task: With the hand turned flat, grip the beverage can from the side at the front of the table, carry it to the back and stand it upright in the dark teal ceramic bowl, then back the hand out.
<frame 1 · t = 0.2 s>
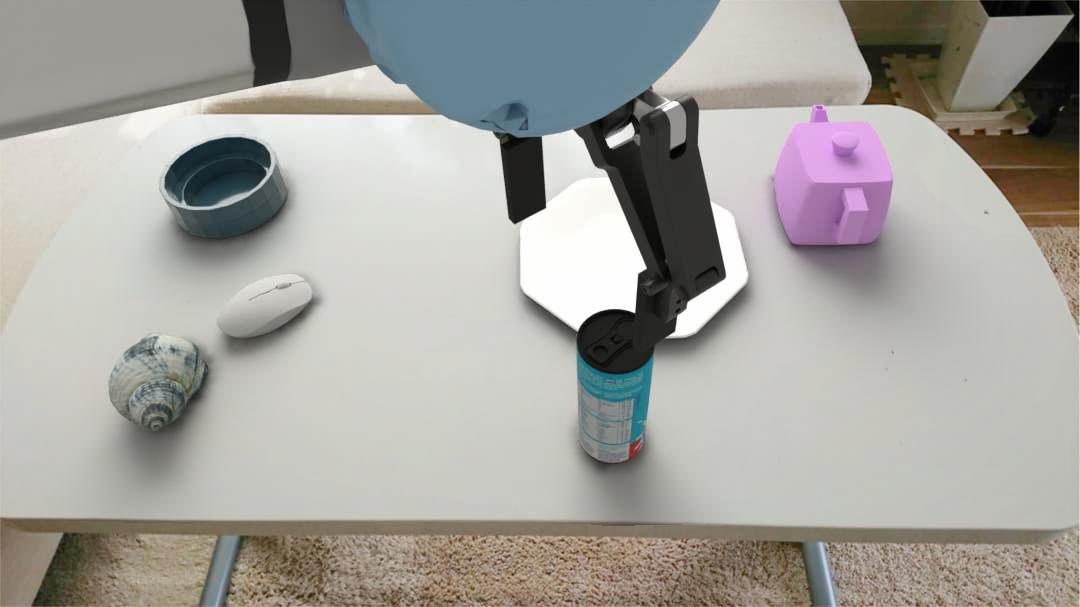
hand: (586, 271, 49), 24 cm above the table, tool pointing down, fingers open, 13 cm apart
computer mouse: (269, 313, 79), on the table
seashell: (169, 397, 73), on the table
plate: (629, 260, 81), on the table
teapot: (820, 209, 85), on the table
bowl: (233, 202, 90), on the table
beverage can: (611, 438, 68), on the table
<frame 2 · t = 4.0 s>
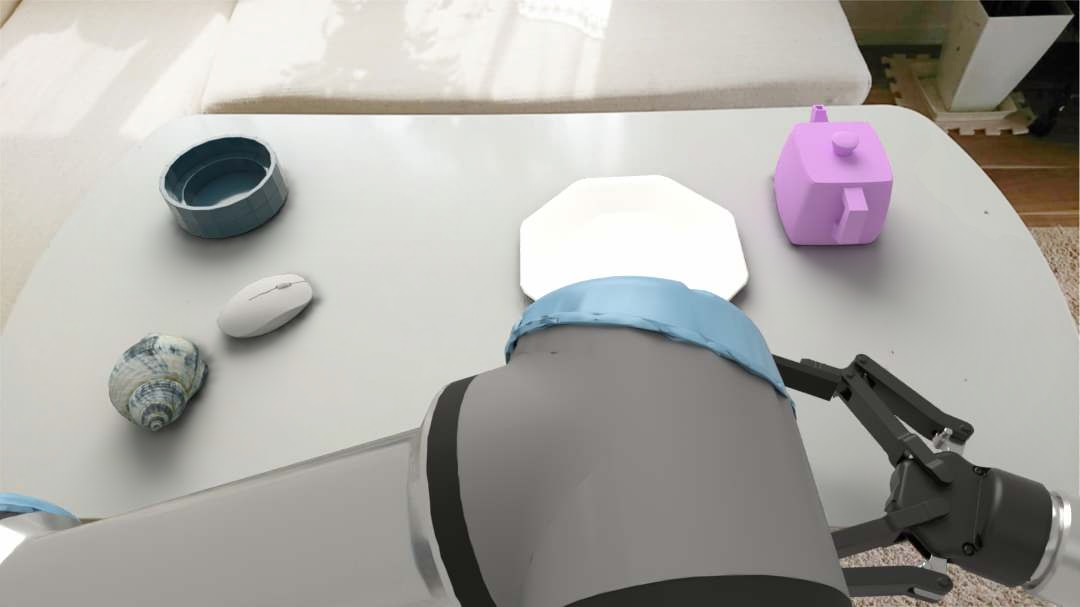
hand: (730, 428, 58), 8 cm above the table, tool horizontal, fingers open, 13 cm apart
nothing on the table moved.
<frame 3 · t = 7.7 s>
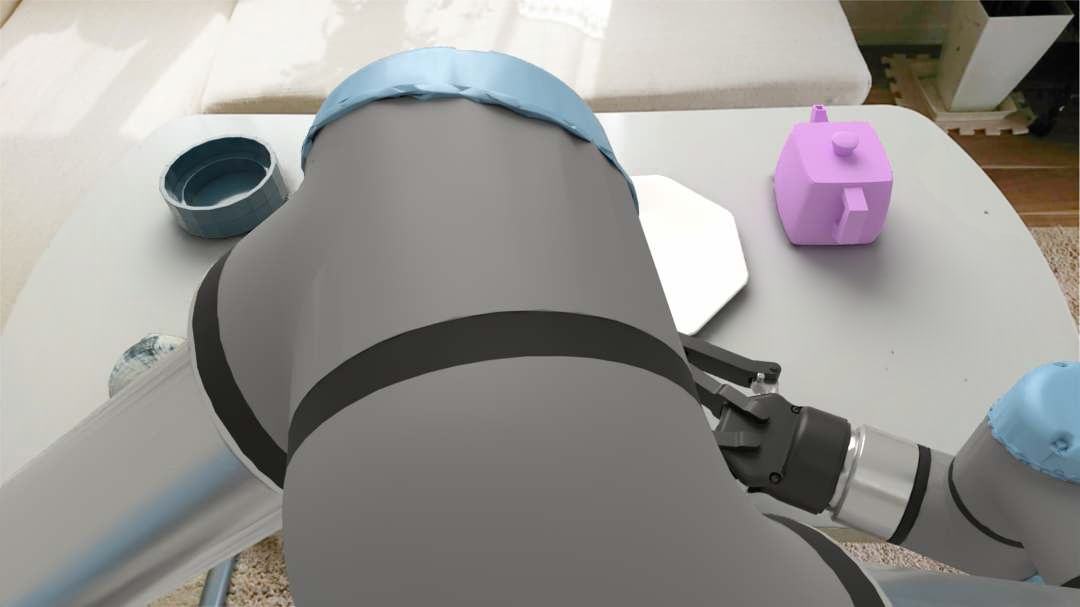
hand: (557, 367, 63), 8 cm above the table, tool horizontal, fingers closed on beverage can, 6 cm apart
beverage can: (611, 438, 68), on the table, touching gripper
everything else where it was.
when the fingers open (9 cm above the table, at t = 20.9 s): beverage can stays where it is, resting on bowl.
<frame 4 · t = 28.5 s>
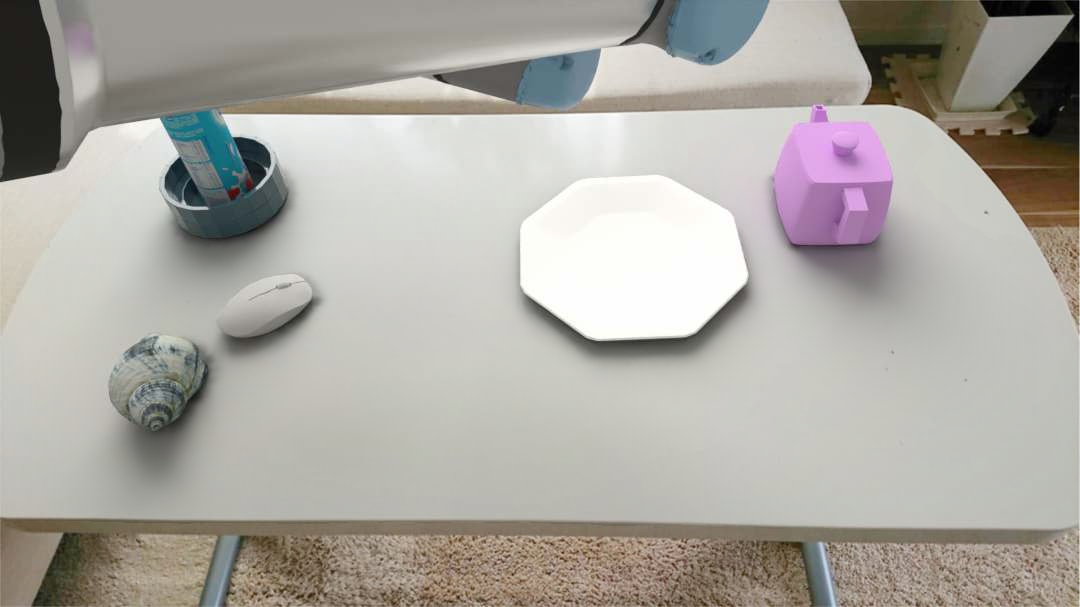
beverage can: (232, 199, 90), resting on bowl
everything else where it was.
at the end: beverage can 0.0 cm off-centre in the bowl, point 0.4 cm above the bowl's base; beverage can tilted 0°; the gripper is holding nothing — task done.
